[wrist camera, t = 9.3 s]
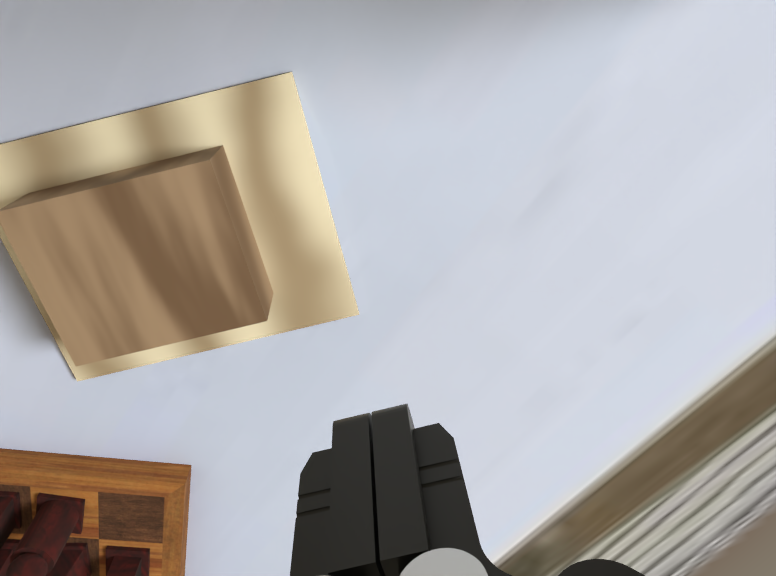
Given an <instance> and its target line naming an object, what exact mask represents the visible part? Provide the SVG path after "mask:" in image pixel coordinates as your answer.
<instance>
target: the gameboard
mask: <svg viewBox="0 0 776 576" xmlns="http://www.w3.org/2000/svg"><path fill="white" fill-rule="evenodd" d="M190 478H191V465H184V464H172V463H161V462H149V461H138V460H126V459H115V458H103V457H92V456H81V455H69V454H58V453H46V452H35V451H23V450H12V449H1V448H0V576H185V559H186V543H187V527H188V511H189V494H190Z"/></svg>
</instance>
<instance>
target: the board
mask: <svg viewBox="0 0 776 576" xmlns="http://www.w3.org/2000/svg"><path fill="white" fill-rule="evenodd" d="M221 145H223V146H224V149H225V152H226V155H227V158H228V161H229V164H230V167H231V170H232V173H233V176H234V179H235V182H236V184H237V187H238V190H239V193H240V196H241V199H242V202H243V205H244V208H245V211H246V214H247V217H248V220H249V222H250V225H251V228H252V231H253V234H254V237H255V240H256V243H257V246H258V249H259V252H260V255H261V258H262V260H263V263H264V266H265V269H266V272H267V275H268V278H269V281H270V284H271V287H272V290H273V293H274V294H273V298H272V303H271V307H270V311H269V315H268V320H267V321H265V322H261V323H257V324H253V325H249V326H244V327H240V328H236V329H232V330H228V331H223V332H219V333H215V334H211V335H207V336H202V337H198V338H194V339H190V340H186V341H181V342H177V343H173V344H169V345H164V346H160V347H156V348H152V349H148V350H143V351H139V352H135V353H131V354H127V355H122V356H118V357H114V358H110V359H106V360H101V361H97V362H93V363H89V364H85V365H80V366H75V364H74V362H73V360H72V359H71V357H70V355H69V353H68V351H67V349H66V347H65V345H64V344H63V342H62V340H61V338H60V336H59V334H58V332H57V330H56V328H55V327H54V325H53V323H52V321H51V319H50V317H49V315H48V313H47V312H46V310H45V308H44V306H43V304H42V302H41V300H40V298H39V296H38V295H37V293H36V291H35V289H34V287H33V285H32V283H31V281H30V279H29V278H28V276H27V274H26V272H25V270H24V268H23V266H22V264H21V263H20V261H19V259H18V257H17V255H16V253H15V251H14V249H13V247H12V246H11V244H10V242H9V240H8V238H7V236H6V234H5V232H4V230H3V229H2V227H1V225H0V238H1V240H2V242H3V244H4V246H5V247H6V249H7V251H8V253H9V255H10V257H11V259H12V260H13V262H14V264H15V266H16V268H17V270H18V272H19V274H20V275H21V277H22V279H23V281H24V283H25V285H26V287H27V288H28V290H29V292H30V294H31V296H32V298H33V300H34V301H35V303H36V305H37V307H38V309H39V311H40V313H41V315H42V316H43V318H44V320H45V322H46V324H47V326H48V328H49V329H50V331H51V333H52V335H53V337H54V339H55V341H56V343H57V344H58V346H59V348H60V350H61V352H62V354H63V356H64V357H65V359H66V361H67V363H68V365H69V367H70V369H71V370H72V372H73V374H74V376H75V378H76V380H77V381H81V380H85V379H90V378H94V377H98V376H102V375H106V374H111V373H115V372H119V371H123V370H128V369H132V368H136V367H140V366H144V365H149V364H153V363H157V362H161V361H165V360H170V359H174V358H178V357H182V356H187V355H191V354H195V353H199V352H203V351H208V350H212V349H216V348H220V347H224V346H229V345H233V344H237V343H241V342H246V341H250V340H254V339H258V338H262V337H267V336H271V335H275V334H279V333H283V332H288V331H292V330H296V329H300V328H305V327H309V326H313V325H317V324H321V323H326V322H330V321H334V320H338V319H342V318H347V317H351V316H355V315H359V311H358V307H357V303H356V300H355V296H354V293H353V289H352V285H351V282H350V278H349V275H348V271H347V267H346V264H345V260H344V257H343V253H342V249H341V246H340V242H339V239H338V235H337V232H336V228H335V224H334V221H333V217H332V214H331V210H330V206H329V203H328V199H327V196H326V192H325V188H324V185H323V181H322V178H321V174H320V170H319V167H318V163H317V160H316V156H315V152H314V149H313V145H312V142H311V138H310V134H309V131H308V127H307V124H306V120H305V117H304V113H303V109H302V106H301V102H300V99H299V95H298V91H297V88H296V84H295V81H294V77H293V73H292V72H289V73H285V74H281V75H277V76H273V77H268V78H264V79H260V80H256V81H252V82H248V83H244V84H240V85H236V86H232V87H228V88H224V89H220V90H216V91H212V92H208V93H204V94H200V95H196V96H192V97H188V98H184V99H180V100H176V101H172V102H168V103H164V104H160V105H156V106H152V107H148V108H143V109H139V110H135V111H131V112H127V113H123V114H119V115H115V116H111V117H107V118H103V119H99V120H95V121H91V122H87V123H83V124H79V125H75V126H71V127H67V128H63V129H59V130H55V131H51V132H47V133H43V134H39V135H35V136H31V137H27V138H23V139H18V140H14V141H10V142H6V143H2V144H0V209H1V208H3V207H5V206H7V205H8V204H10V203H12V202H14V201H15V200H17V199H19V198H21V197H22V196H24V195H26V194H28V193H30V192H34V191H38V190H42V189H46V188H50V187H54V186H59V185H63V184H67V183H71V182H75V181H79V180H83V179H87V178H91V177H95V176H99V175H103V174H107V173H111V172H116V171H120V170H124V169H128V168H132V167H136V166H140V165H144V164H148V163H152V162H156V161H160V160H164V159H168V158H173V157H177V156H181V155H185V154H189V153H193V152H197V151H201V150H205V149H209V148H213V147H217V146H221Z"/></svg>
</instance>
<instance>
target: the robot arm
mask: <svg viewBox="0 0 776 576" xmlns="http://www.w3.org/2000/svg"><path fill="white" fill-rule="evenodd" d="M298 496H299V500H298V502H297V512H296V514H297V518H296V522H295V531H294V541H293V551H292V561H291V570H290V576H511V575H509V574H507V573H505V572H503V571H502V570H500V569H498V568H497V567H496V566H495V565H493V564H492V563H491V562H490V561H489V559H488V558H487V557H486V556H485V554H484V552H483V550H482V548H481V545H480V542H479V538H478V534H477V530H476V526H475V522H474V518H473V514H472V510H471V506H470V502H469V498H468V494H467V490H466V486H465V482H464V478H463V474H462V470H461V466H460V462H459V458H458V454H457V450H456V446H455V442H454V438H453V437H452V436H451V435H450V434H449V433H448V432H447V431H446V430H445V429H444V428H443V427H442V426H441V425H440V424H439V423H437V424H433V425H428V426H424V427H420V428H416V429H415V428H414V425H413V421H412V417H411V414H410V410H409V407H408V404H404V405H400V406H395V407H391V408H387V409H383V410H378V411H374V412H372V415H371V414H370V413H366V414H362V415H358V416H354V417H349V418H345V419H341V420H337V421H334V422H333V434H332V448H331V449H327V450H323V451H318V452H314V453H312V455H311V457H310V458H309V460H308V462H307V463H306V465H305V467H304V469H303V470H302V472H301V474H300V483H299V493H298ZM558 576H645V575H643V574H641V573H639V572H637V571H636V570H634V569H632V568H630V567H628V566H626V565H624V564H621V563H618V562H615V561H611V560H605V559H591V560H584V561H581V562H577V563H575V564H573V565H571V566H569V567H568V568H566V569H565V570H563V571H562V572H561V573H560V574H559V575H558Z"/></svg>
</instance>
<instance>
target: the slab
mask: <svg viewBox="0 0 776 576" xmlns="http://www.w3.org/2000/svg"><path fill="white" fill-rule="evenodd" d="M0 225H1V227H2V229H3V230H4V232H5V234H6V236H7V238H8V240H9V242H10V244H11V246H12V247H13V249H14V251H15V253H16V255H17V257H18V259H19V261H20V263H21V264H22V266H23V268H24V270H25V272H26V274H27V276H28V278H29V279H30V281H31V283H32V285H33V287H34V289H35V291H36V293H37V295H38V296H39V298H40V300H41V302H42V304H43V306H44V308H45V310H46V312H47V313H48V315H49V317H50V319H51V321H52V323H53V325H54V327H55V328H56V330H57V332H58V334H59V336H60V338H61V340H62V342H63V344H64V345H65V347H66V349H67V351H68V353H69V355H70V357H71V359H72V360H73V362H74V364H75V366H80V365H85V364H89V363H93V362H97V361H101V360H106V359H110V358H114V357H118V356H122V355H127V354H131V353H135V352H139V351H143V350H148V349H152V348H156V347H160V346H164V345H169V344H173V343H177V342H181V341H186V340H190V339H194V338H198V337H202V336H207V335H211V334H215V333H219V332H223V331H228V330H232V329H236V328H240V327H244V326H249V325H253V324H257V323H261V322H265V321H267V320H268V315H269V311H270V307H271V303H272V298H273V294H274V293H273V290H272V287H271V284H270V281H269V278H268V275H267V272H266V269H265V266H264V263H263V260H262V258H261V255H260V252H259V249H258V246H257V243H256V240H255V237H254V234H253V231H252V228H251V225H250V222H249V220H248V217H247V214H246V211H245V208H244V205H243V202H242V199H241V196H240V193H239V190H238V187H237V184H236V182H235V179H234V176H233V173H232V170H231V167H230V164H229V161H228V158H227V155H226V152H225V149H224V146H223V145H221V146H217V147H213V148H209V149H205V150H201V151H197V152H193V153H189V154H185V155H181V156H177V157H173V158H168V159H164V160H160V161H156V162H152V163H148V164H144V165H140V166H136V167H132V168H128V169H124V170H120V171H116V172H111V173H107V174H103V175H99V176H95V177H91V178H87V179H83V180H79V181H75V182H71V183H67V184H63V185H59V186H54V187H50V188H46V189H42V190H38V191H34V192H30V193H28V194H26V195H24V196H22V197H21V198H19V199H17V200H15V201H14V202H12V203H10V204H8V205H7V206H5V207H3V208H1V209H0Z"/></svg>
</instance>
